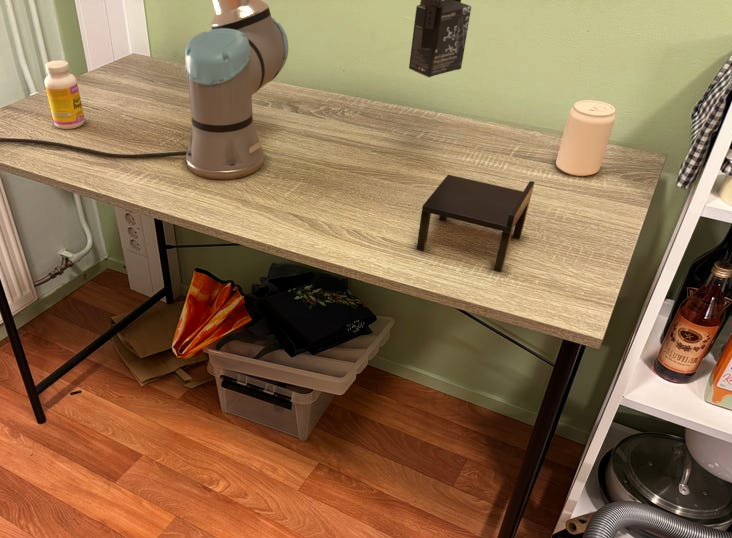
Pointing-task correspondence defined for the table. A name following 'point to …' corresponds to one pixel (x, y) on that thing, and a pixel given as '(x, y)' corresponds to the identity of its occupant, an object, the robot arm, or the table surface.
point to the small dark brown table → (478, 209)
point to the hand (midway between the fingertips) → (439, 39)
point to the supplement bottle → (63, 96)
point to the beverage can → (585, 137)
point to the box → (441, 40)
